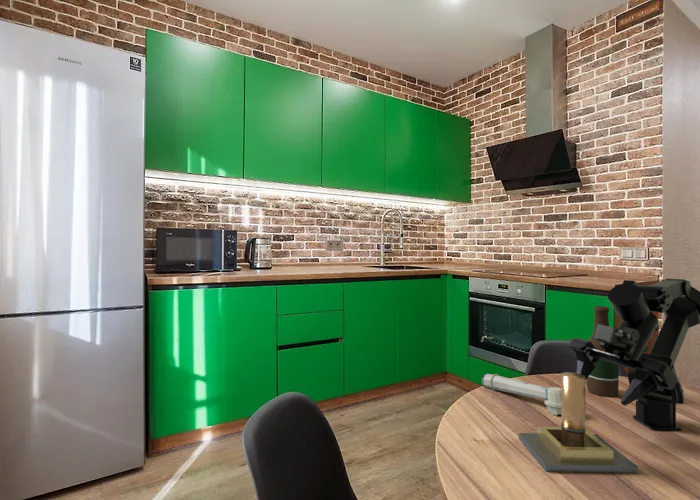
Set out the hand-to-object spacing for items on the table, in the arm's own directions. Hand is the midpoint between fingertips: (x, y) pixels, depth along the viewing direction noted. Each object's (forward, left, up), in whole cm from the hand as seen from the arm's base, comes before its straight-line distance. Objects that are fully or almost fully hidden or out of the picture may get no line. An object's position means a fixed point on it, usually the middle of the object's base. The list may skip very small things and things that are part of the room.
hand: (598, 394), depth 77 cm
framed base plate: (+7, +3, -10) cm, 13 cm away
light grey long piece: (+5, -24, -11) cm, 27 cm away
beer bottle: (-19, -31, -11) cm, 38 cm away
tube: (+7, +3, -9) cm, 12 cm away
